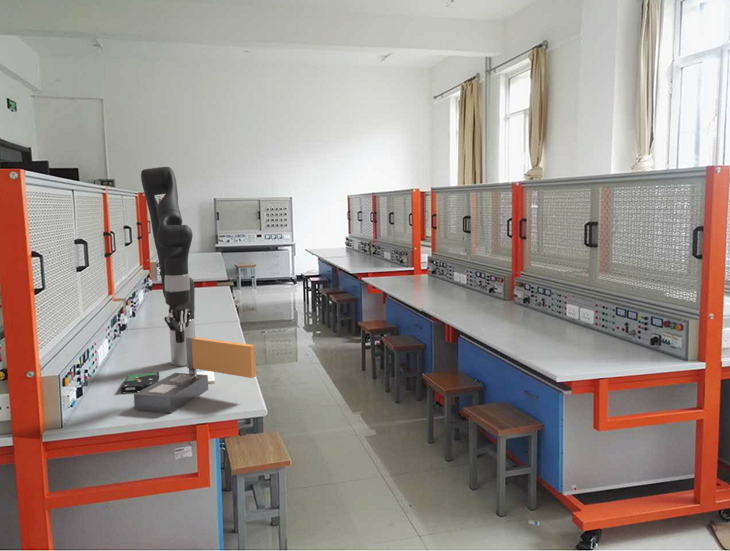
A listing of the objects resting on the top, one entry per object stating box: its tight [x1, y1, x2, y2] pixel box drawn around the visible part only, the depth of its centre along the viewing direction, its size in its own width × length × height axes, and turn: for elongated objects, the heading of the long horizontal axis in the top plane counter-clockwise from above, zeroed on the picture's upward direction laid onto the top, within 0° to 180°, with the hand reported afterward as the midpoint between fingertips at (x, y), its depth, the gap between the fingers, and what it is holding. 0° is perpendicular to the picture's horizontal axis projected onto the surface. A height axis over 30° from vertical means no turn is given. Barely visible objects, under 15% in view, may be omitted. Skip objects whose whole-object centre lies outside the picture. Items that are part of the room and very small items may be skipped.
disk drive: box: [120, 371, 160, 394], centre depth 195 cm, size 10×3×15 cm
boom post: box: [188, 368, 197, 374], centre depth 192 cm, size 2×2×7 cm
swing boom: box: [186, 336, 257, 379], centre depth 185 cm, size 27×3×10 cm, turn 62°
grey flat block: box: [133, 372, 209, 415], centre depth 180 cm, size 22×12×5 cm, turn 166°
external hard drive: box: [196, 370, 216, 384], centre depth 201 cm, size 2×8×12 cm
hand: (180, 342), depth 184 cm, fingers closed
